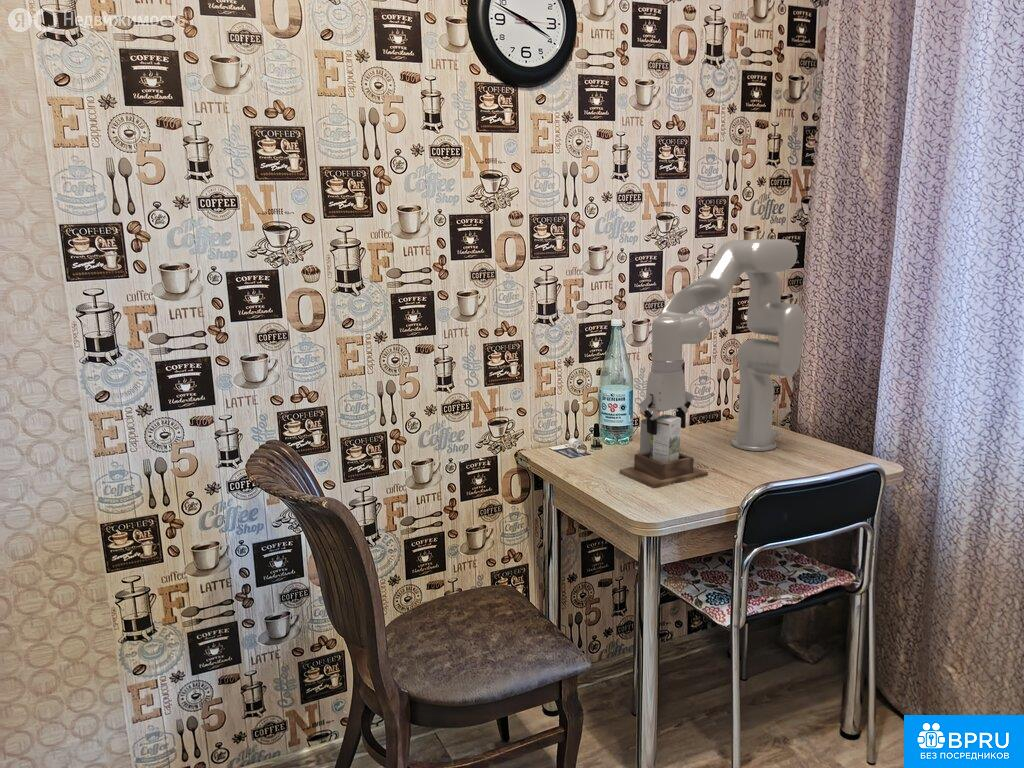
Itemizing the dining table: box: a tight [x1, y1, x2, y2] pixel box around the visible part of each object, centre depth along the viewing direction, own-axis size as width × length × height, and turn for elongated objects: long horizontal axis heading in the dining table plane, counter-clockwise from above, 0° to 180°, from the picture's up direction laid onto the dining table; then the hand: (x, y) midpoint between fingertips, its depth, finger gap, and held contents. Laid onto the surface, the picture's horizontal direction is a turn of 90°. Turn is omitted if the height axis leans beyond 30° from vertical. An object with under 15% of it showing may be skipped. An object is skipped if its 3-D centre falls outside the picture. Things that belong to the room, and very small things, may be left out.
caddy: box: [619, 451, 709, 489], centre depth 198 cm, size 18×14×5 cm
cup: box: [639, 418, 651, 453], centre depth 213 cm, size 8×8×10 cm
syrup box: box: [650, 413, 682, 463], centre depth 197 cm, size 6×6×14 cm
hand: (666, 430), depth 196 cm, fingers open, 9 cm apart
